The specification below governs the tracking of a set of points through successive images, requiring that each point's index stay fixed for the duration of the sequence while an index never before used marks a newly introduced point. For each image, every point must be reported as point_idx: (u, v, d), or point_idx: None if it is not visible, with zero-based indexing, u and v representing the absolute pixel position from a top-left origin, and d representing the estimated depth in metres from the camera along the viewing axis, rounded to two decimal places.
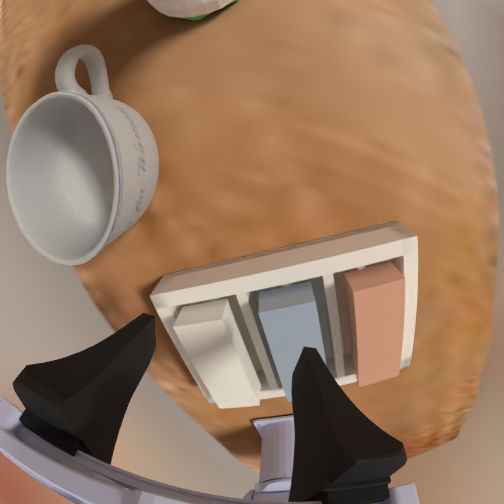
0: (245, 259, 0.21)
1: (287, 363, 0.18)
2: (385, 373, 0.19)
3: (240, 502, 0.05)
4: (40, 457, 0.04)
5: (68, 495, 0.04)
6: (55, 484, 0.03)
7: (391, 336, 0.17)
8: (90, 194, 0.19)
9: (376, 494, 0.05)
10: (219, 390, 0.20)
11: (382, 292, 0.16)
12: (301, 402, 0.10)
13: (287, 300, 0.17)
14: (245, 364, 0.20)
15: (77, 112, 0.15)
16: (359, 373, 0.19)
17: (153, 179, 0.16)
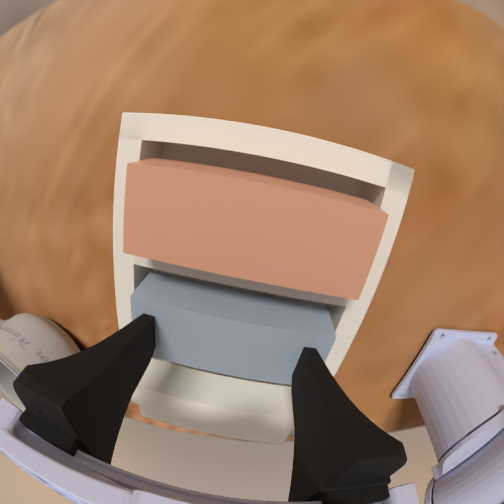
0: None
1: (225, 363, 0.13)
2: (357, 242, 0.09)
3: (240, 502, 0.05)
4: (40, 457, 0.04)
5: (68, 495, 0.04)
6: (55, 484, 0.03)
7: (246, 209, 0.09)
8: None
9: (376, 494, 0.05)
10: (247, 434, 0.15)
11: (136, 208, 0.10)
12: (301, 402, 0.10)
13: None
14: (224, 396, 0.14)
15: None
16: (316, 291, 0.10)
17: (45, 338, 0.16)
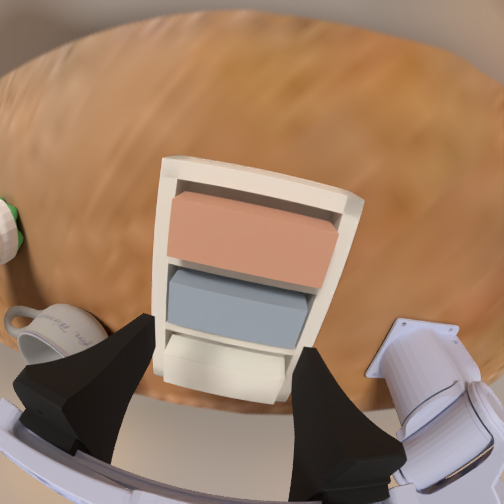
0: None
1: (233, 329, 0.19)
2: (318, 251, 0.16)
3: (240, 502, 0.05)
4: (40, 457, 0.04)
5: (68, 495, 0.04)
6: (55, 484, 0.03)
7: (248, 231, 0.15)
8: None
9: (376, 494, 0.05)
10: (246, 394, 0.21)
11: (178, 228, 0.16)
12: (301, 402, 0.10)
13: None
14: (229, 361, 0.20)
15: None
16: (292, 281, 0.16)
17: (82, 323, 0.22)
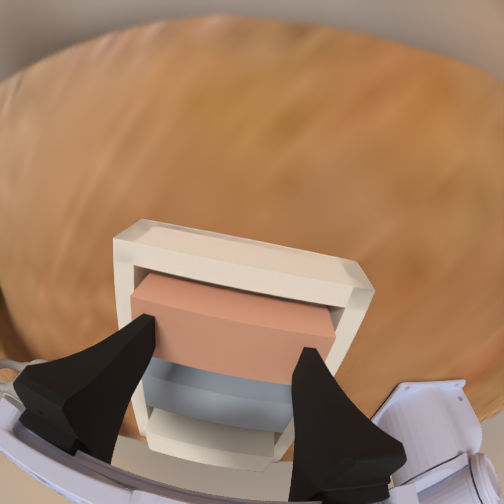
0: None
1: (215, 416, 0.16)
2: None
3: (240, 502, 0.05)
4: (40, 457, 0.04)
5: (68, 495, 0.04)
6: (55, 484, 0.03)
7: (224, 336, 0.12)
8: None
9: (376, 494, 0.05)
10: (234, 465, 0.17)
11: None
12: (301, 402, 0.10)
13: None
14: (215, 439, 0.17)
15: None
16: (279, 382, 0.13)
17: None
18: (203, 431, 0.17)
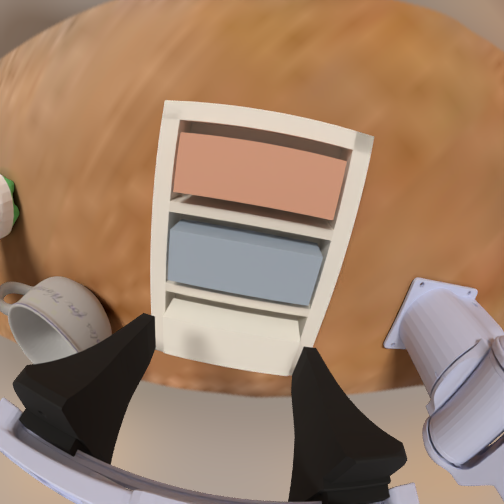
0: None
1: (240, 282, 0.18)
2: (327, 179, 0.15)
3: (240, 502, 0.05)
4: (40, 457, 0.04)
5: (68, 495, 0.04)
6: (55, 484, 0.03)
7: (257, 159, 0.15)
8: None
9: (376, 494, 0.05)
10: (256, 363, 0.19)
11: (185, 161, 0.15)
12: (301, 402, 0.10)
13: None
14: (237, 324, 0.19)
15: None
16: (303, 212, 0.16)
17: (76, 293, 0.21)
18: (225, 317, 0.19)
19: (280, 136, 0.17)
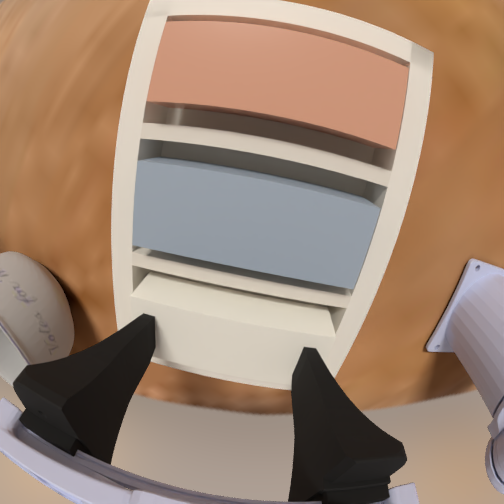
0: None
1: (247, 248, 0.11)
2: (385, 87, 0.08)
3: (240, 502, 0.05)
4: (40, 457, 0.04)
5: (68, 495, 0.04)
6: (55, 484, 0.03)
7: (279, 50, 0.08)
8: None
9: (376, 494, 0.05)
10: (269, 370, 0.13)
11: (169, 56, 0.08)
12: (301, 402, 0.10)
13: None
14: (242, 310, 0.13)
15: None
16: (353, 132, 0.09)
17: (26, 272, 0.14)
18: (223, 300, 0.13)
19: None
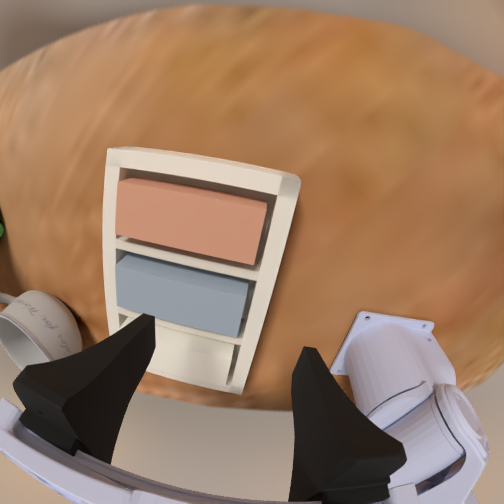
0: None
1: (175, 313, 0.19)
2: (246, 227, 0.16)
3: (240, 502, 0.05)
4: (40, 457, 0.04)
5: (68, 495, 0.04)
6: (55, 484, 0.03)
7: (181, 208, 0.16)
8: None
9: (376, 494, 0.05)
10: (197, 373, 0.21)
11: (123, 208, 0.16)
12: (301, 402, 0.10)
13: None
14: (179, 339, 0.21)
15: None
16: (225, 257, 0.17)
17: (49, 307, 0.22)
18: (170, 332, 0.22)
19: None
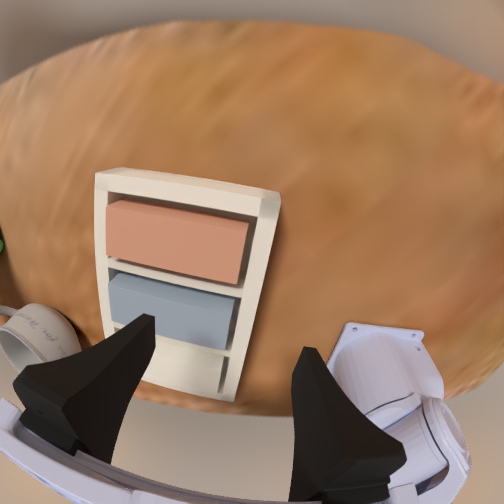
0: None
1: (165, 328, 0.20)
2: (228, 249, 0.17)
3: (240, 502, 0.05)
4: (40, 457, 0.04)
5: (68, 495, 0.04)
6: (55, 484, 0.03)
7: (165, 232, 0.17)
8: None
9: (376, 494, 0.05)
10: (189, 383, 0.22)
11: (112, 231, 0.17)
12: (301, 402, 0.10)
13: None
14: (172, 351, 0.22)
15: None
16: (209, 277, 0.18)
17: (49, 320, 0.23)
18: (163, 345, 0.22)
19: None
